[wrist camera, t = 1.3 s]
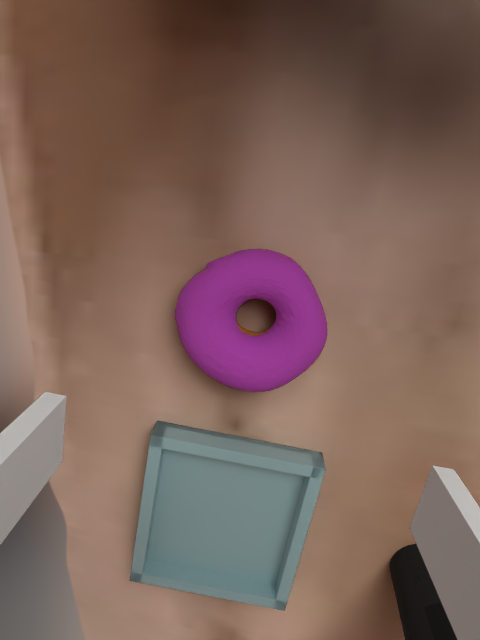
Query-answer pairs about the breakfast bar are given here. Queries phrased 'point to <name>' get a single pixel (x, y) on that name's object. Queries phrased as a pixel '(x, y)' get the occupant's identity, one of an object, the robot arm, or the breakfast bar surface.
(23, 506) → the robot arm
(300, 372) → the donut
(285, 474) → the tray
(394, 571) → the drinking cup
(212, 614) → the breakfast bar surface
